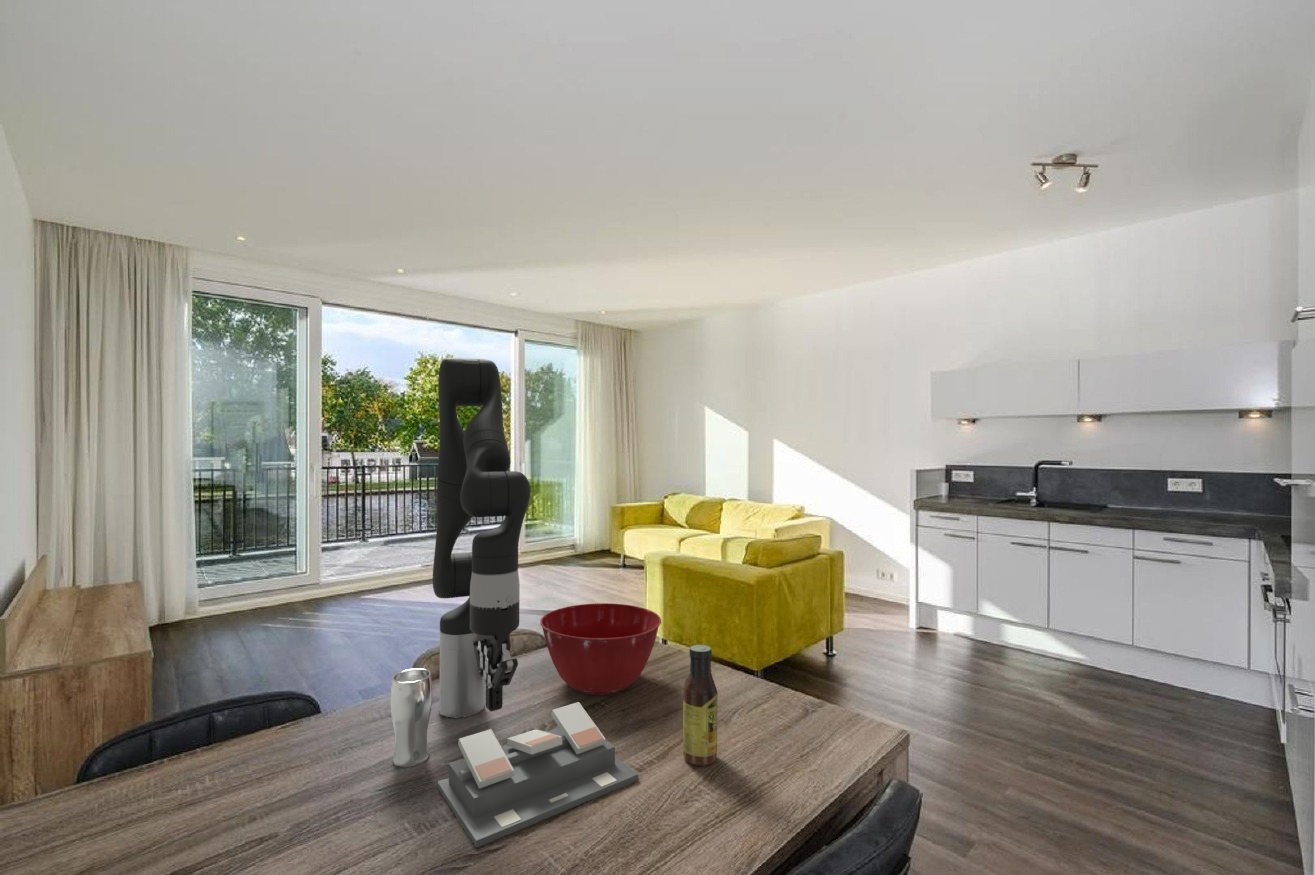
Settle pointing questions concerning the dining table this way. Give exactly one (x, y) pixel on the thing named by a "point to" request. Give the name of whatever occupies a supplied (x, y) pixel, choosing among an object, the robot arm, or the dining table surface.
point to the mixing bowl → (600, 644)
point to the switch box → (532, 788)
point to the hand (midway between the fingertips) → (494, 708)
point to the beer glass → (411, 715)
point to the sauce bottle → (700, 709)
